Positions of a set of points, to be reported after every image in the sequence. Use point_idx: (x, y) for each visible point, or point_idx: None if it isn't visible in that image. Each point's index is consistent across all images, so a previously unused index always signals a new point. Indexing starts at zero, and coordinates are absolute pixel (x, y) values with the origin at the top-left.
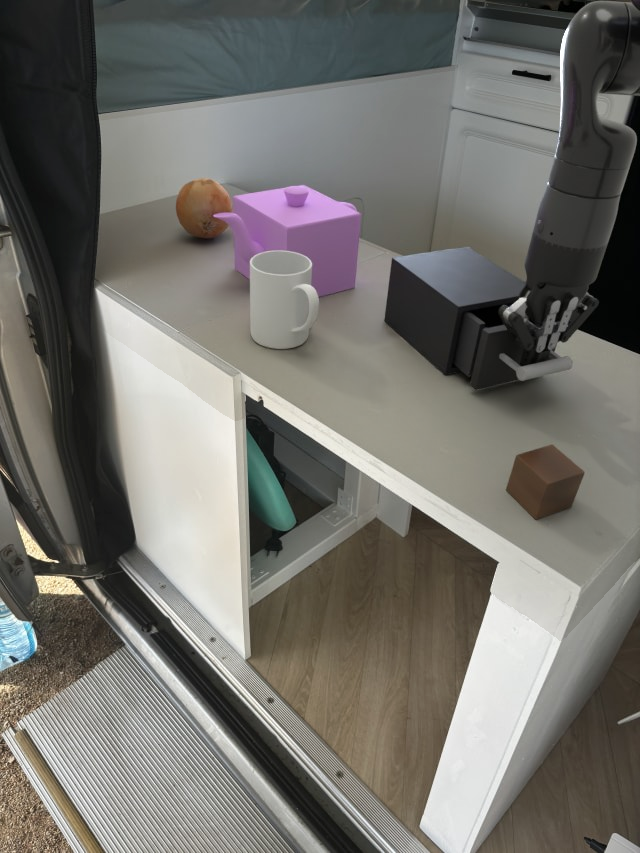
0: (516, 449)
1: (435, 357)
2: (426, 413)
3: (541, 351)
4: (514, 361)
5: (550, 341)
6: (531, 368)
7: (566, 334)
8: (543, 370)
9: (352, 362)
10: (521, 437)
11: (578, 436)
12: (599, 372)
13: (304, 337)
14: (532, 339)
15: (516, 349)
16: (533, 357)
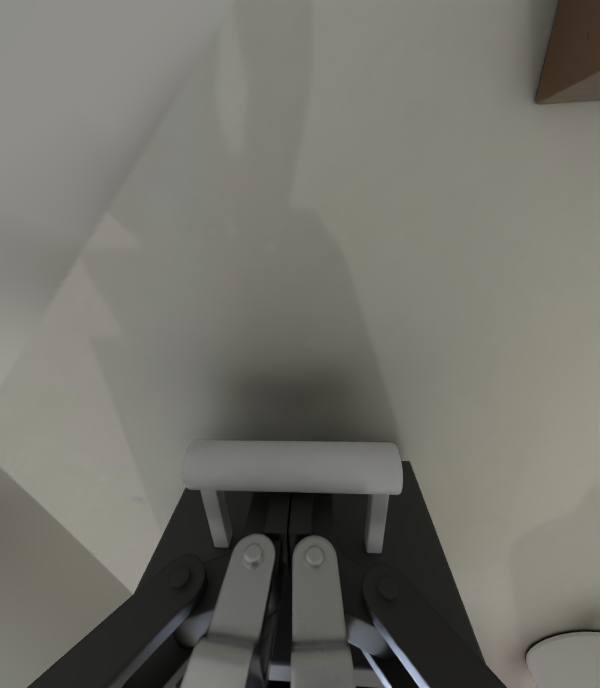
0: (475, 257)
1: None
2: (547, 437)
3: (304, 538)
4: (372, 517)
5: (265, 581)
6: (367, 477)
7: (173, 601)
8: (318, 457)
9: (531, 582)
10: (421, 295)
11: (273, 244)
12: (70, 426)
13: (570, 649)
14: (389, 630)
15: None
16: (319, 517)
